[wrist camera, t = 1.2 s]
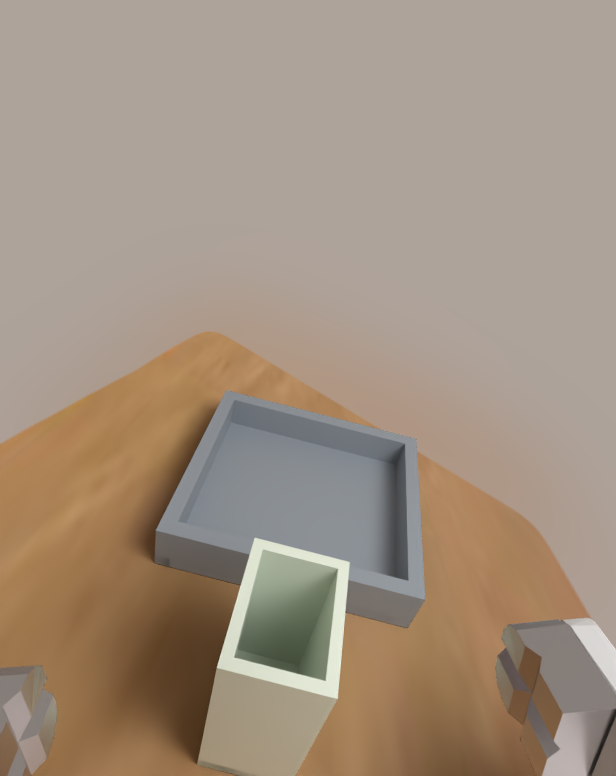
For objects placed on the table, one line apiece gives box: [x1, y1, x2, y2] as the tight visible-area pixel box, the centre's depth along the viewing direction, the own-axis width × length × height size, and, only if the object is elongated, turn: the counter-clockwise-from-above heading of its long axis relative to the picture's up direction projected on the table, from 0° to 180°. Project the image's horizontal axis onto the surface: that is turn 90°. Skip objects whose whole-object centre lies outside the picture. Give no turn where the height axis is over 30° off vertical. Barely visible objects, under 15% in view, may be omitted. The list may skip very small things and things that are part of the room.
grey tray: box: [155, 390, 425, 628], centre depth 44 cm, size 20×18×4 cm
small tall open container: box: [197, 538, 350, 776], centre depth 28 cm, size 5×7×12 cm
